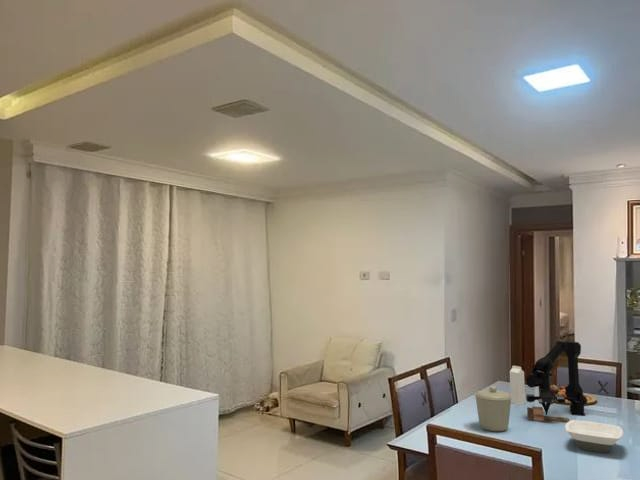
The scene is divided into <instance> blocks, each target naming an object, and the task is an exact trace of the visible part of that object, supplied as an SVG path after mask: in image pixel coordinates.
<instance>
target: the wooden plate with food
mask: <svg viewBox="0 0 640 480" xmlns="http://www.w3.org/2000/svg"><path fill="white" fill-rule="evenodd" d="M565 387H566V385H561V386H560V387H558V386H557V385H555V384H551V385H550V391H551V392H555V395H563V396H564V397H565V403H559V402H558V401H557V400H553V401H552V402H553V404H554V403H556V404H561V405H568V406H570V405H569V404H571V402H570V401H568V400H567V397H566V394H565ZM583 395H584V396H585V398H586V399H587V404H584V406H591V405H595V404H596V403H598V400H597V398H596V397H594V396H592V395H589V394H586V393H584V392H583Z"/></svg>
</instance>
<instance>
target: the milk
mask: <svg viewBox="0 0 640 480" xmlns="http://www.w3.org/2000/svg"><path fill="white" fill-rule="evenodd" d="M525 390H526V389H525V371H524V370H523V369H522V367H521V366H518V365H512V366H511V369H510V370H509V395H511V396H512V399H511V405H512V404H513V405H517V406H522V405H525V404H526V395H525V394H526V393H525V392H526V391H525Z"/></svg>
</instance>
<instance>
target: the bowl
mask: <svg viewBox="0 0 640 480" xmlns="http://www.w3.org/2000/svg"><path fill="white" fill-rule="evenodd" d="M564 429H565V431H566V432H567V433H568V434H569V436H570V437H571V438H572V439H573V440H574V441H575V443H576V444H577V446H578V447H579V448H580V449H581V450H585V451H590V452H596V453H602V454H603V453H604V454H607V453H609V451H610V450H611V449H612V447H613V446H614V444H616V443H617V442H618V441H619V440H620V439H621V438H622V437H623V435H624V431H623V429H622V427H621V426H619V425H614V424H608V423H601V422H595V421H586V420H576V419H570V421H569V422H567V423H565V426H564Z"/></svg>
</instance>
